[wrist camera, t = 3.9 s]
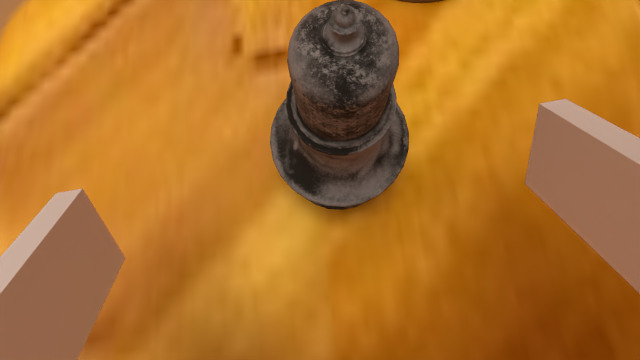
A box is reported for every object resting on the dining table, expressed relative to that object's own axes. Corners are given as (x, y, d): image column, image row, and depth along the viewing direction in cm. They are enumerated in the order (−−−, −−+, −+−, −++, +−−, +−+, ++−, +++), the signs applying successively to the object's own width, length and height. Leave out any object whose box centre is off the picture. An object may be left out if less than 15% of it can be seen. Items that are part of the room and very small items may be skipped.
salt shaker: (403, 115, 20) (509, -95, 8) (385, 225, 18) (477, 175, 7) (294, 96, 20) (237, -129, 8) (270, 203, 19) (165, 119, 7)
